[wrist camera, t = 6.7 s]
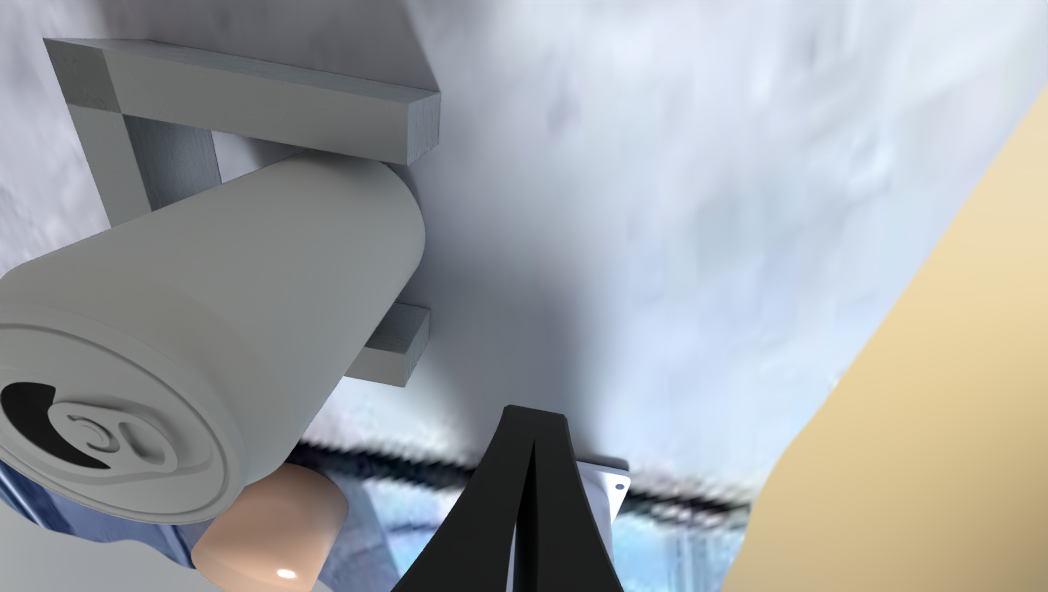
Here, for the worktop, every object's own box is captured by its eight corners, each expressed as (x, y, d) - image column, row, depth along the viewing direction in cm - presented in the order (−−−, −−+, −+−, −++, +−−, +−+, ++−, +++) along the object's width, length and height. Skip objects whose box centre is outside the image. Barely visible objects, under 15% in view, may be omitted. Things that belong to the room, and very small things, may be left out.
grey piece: (428, 339, 21) (404, 387, 18) (211, 298, 21) (152, 339, 18) (440, 92, 16) (408, 104, 13) (144, 39, 16) (42, 38, 13)
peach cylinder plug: (351, 535, 31) (315, 613, 27) (256, 516, 31) (205, 592, 27) (346, 473, 28) (304, 552, 23) (239, 452, 28) (177, 527, 23)
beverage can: (265, 138, 17) (-202, 281, 7) (424, 145, 17) (181, 309, 6) (303, 280, 20) (26, 524, 10) (437, 289, 20) (291, 554, 10)
